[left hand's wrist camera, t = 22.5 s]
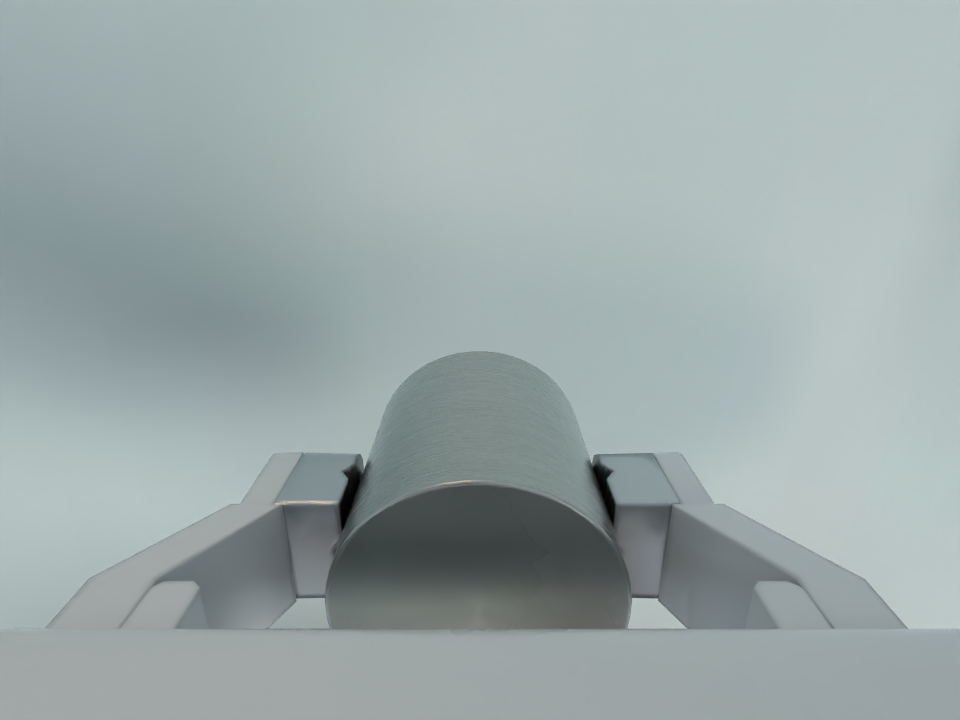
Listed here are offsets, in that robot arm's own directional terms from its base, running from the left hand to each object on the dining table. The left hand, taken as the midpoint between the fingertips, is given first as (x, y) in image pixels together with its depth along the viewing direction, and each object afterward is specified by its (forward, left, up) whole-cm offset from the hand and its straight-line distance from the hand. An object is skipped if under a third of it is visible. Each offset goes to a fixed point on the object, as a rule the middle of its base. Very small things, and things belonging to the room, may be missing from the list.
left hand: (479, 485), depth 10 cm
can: (0, 0, -2) cm, 2 cm away
